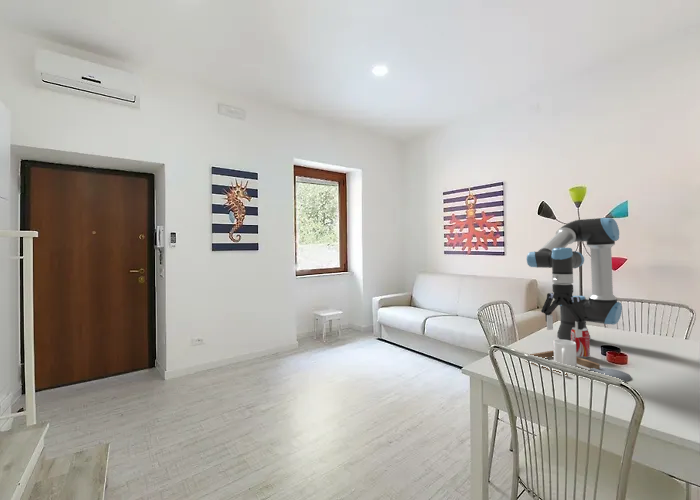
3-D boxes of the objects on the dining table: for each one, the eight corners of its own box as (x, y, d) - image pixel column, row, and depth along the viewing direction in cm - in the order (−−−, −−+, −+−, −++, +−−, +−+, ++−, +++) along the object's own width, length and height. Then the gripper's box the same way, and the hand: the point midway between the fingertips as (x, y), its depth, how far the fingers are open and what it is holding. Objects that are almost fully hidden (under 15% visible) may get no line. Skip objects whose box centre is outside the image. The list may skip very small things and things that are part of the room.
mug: (575, 373, 137) (575, 348, 137) (552, 369, 142) (551, 345, 142) (576, 364, 147) (576, 340, 147) (554, 361, 152) (554, 338, 152)
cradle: (524, 360, 154) (523, 355, 154) (556, 355, 159) (555, 349, 159) (565, 377, 134) (564, 370, 134) (599, 370, 140) (599, 364, 140)
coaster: (581, 371, 139) (581, 370, 139) (604, 367, 143) (604, 365, 143) (615, 383, 127) (615, 382, 126) (639, 378, 130) (639, 376, 130)
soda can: (586, 354, 159) (586, 327, 159) (592, 359, 152) (591, 330, 152) (569, 353, 161) (568, 326, 161) (574, 358, 155) (573, 330, 154)
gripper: (531, 281, 155) (532, 327, 155) (584, 287, 131) (585, 341, 131) (544, 280, 157) (545, 326, 157) (598, 286, 133) (599, 339, 134)
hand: (563, 333), depth 144 cm, fingers open, 13 cm apart
